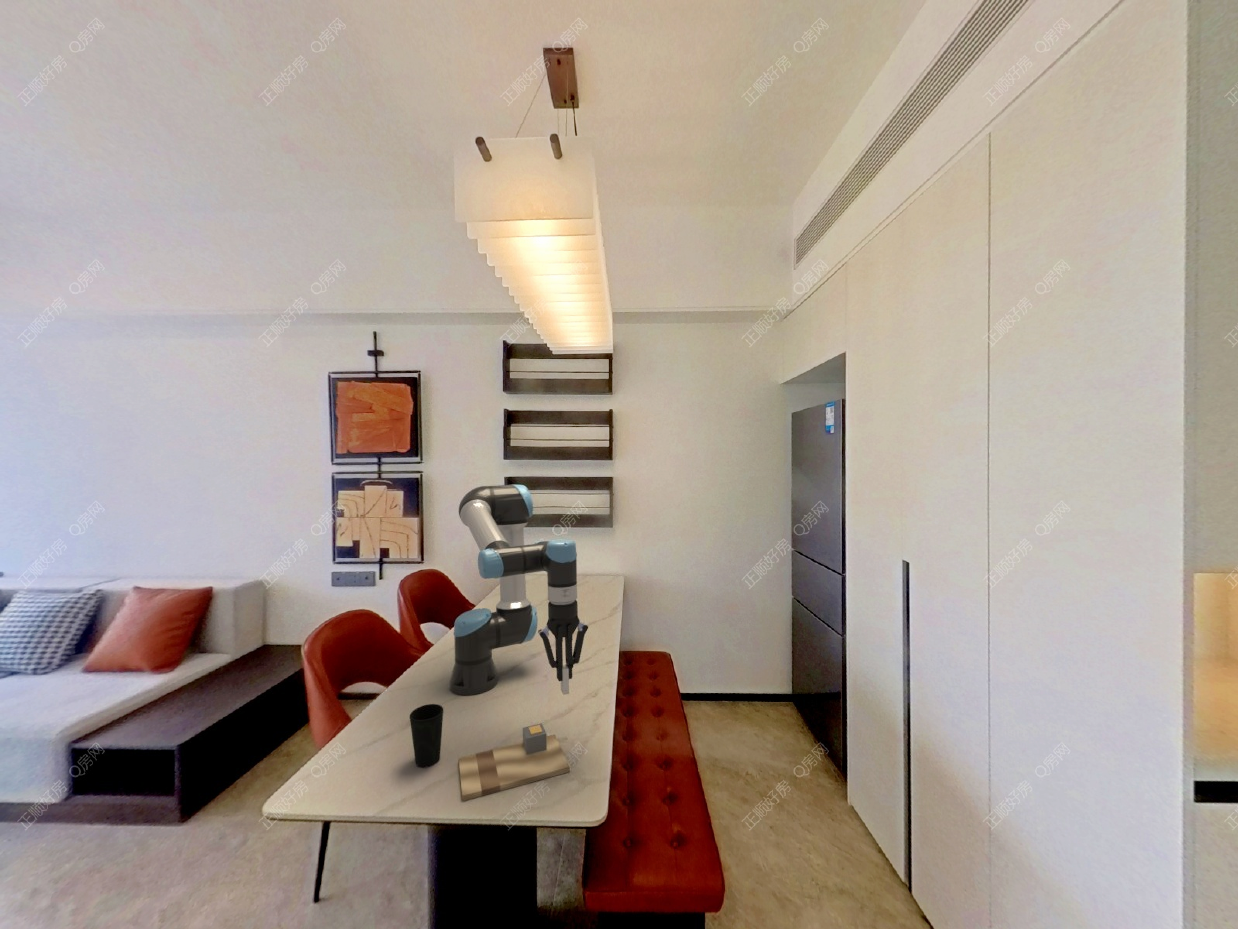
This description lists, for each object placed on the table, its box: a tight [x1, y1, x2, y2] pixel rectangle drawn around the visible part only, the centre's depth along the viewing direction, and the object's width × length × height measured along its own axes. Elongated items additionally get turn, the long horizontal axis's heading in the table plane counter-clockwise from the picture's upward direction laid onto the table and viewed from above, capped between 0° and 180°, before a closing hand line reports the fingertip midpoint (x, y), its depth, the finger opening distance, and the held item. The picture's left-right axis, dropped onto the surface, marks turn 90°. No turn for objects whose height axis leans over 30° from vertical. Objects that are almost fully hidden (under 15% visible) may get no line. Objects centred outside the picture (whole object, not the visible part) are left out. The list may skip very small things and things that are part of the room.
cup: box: [409, 703, 444, 769], centre depth 116 cm, size 8×8×12 cm
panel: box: [458, 733, 571, 802], centre depth 113 cm, size 14×24×1 cm, turn 112°
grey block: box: [522, 723, 547, 755], centre depth 119 cm, size 5×5×4 cm
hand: (564, 691), depth 121 cm, fingers closed
